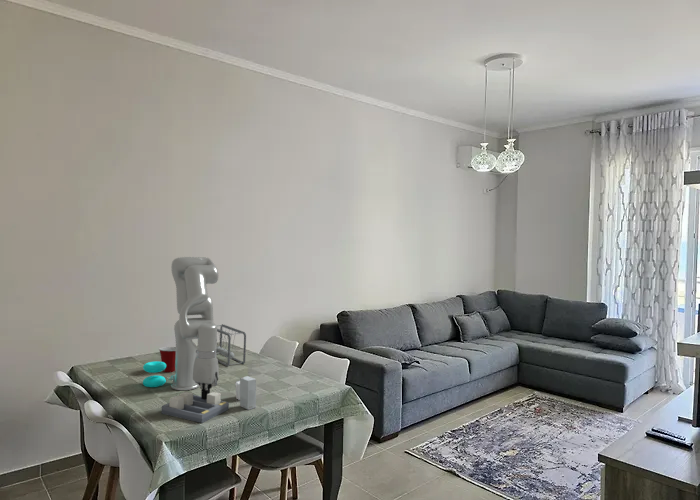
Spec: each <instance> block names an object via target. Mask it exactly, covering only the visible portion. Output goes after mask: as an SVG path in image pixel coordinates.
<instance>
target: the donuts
mask: <svg viewBox="0 0 700 500" xmlns="http://www.w3.org/2000/svg"><path fill="white" fill-rule="evenodd" d="M142 366H143V367H142V369H143V371H145V372H146V373H150V374H151V373H152V374H156V373H161V372H163V370H164V369H165V368H166V364H165V363H164V362H162V361H156V360H155V361H149V362H146V363H145V364H143V365H142ZM166 382H167V380H166V378H165V377H164V376H163V375H159V374H158V375H149V376H147V377H144V379H143V380H142V385H143V386H144V387H147V388H158V387H162V386H164V385H165V384H166Z"/></svg>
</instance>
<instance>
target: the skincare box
mask: <svg viewBox="0 0 700 500" xmlns="http://www.w3.org/2000/svg"><path fill="white" fill-rule="evenodd" d="M239 381H240V400H239V406H240V407H242V408H243V409H246V410H253V409H256V407H257V379H256V378H254V377H251V376H248V375H247V376H243V377H239Z"/></svg>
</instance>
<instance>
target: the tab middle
mask: <svg viewBox="0 0 700 500" xmlns="http://www.w3.org/2000/svg"><path fill="white" fill-rule="evenodd" d="M193 395H194V393H193V392H188V391H184V392H181V393H179V394H178V396H181V397H184V404H187V405H192V404H193Z"/></svg>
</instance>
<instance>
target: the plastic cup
mask: <svg viewBox="0 0 700 500" xmlns="http://www.w3.org/2000/svg"><path fill="white" fill-rule="evenodd" d="M158 350H159V353H160V358H161V359H160V360H161V361H160V362H164V363H165V364H166V368H165V369H164V370H163V371H162V372H163V373H175V359H176V346H164V347H159V348H158Z"/></svg>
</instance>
